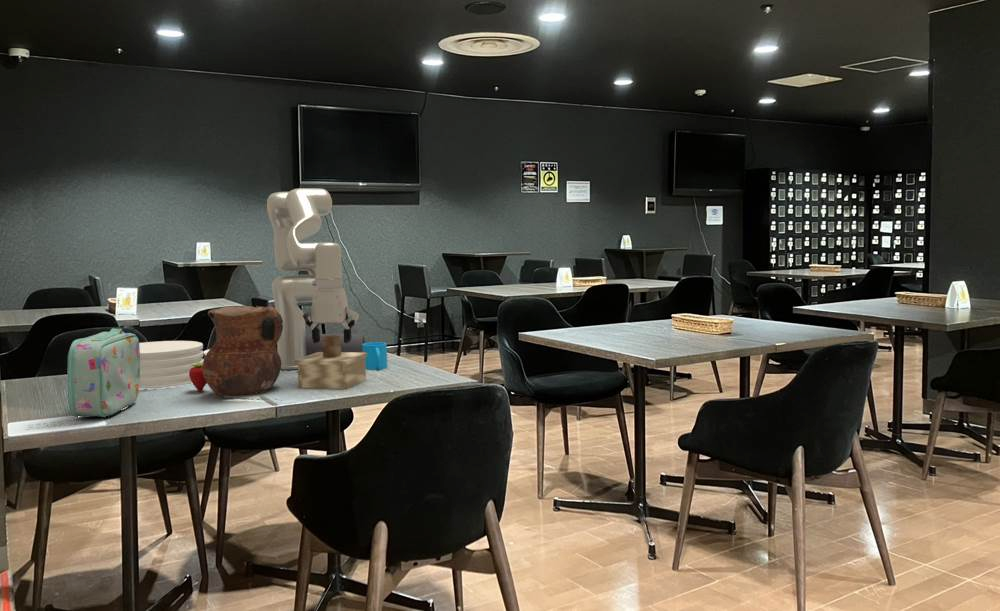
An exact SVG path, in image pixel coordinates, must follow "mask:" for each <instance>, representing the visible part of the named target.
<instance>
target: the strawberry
mask: <svg viewBox="0 0 1000 611" xmlns="http://www.w3.org/2000/svg"><path fill="white" fill-rule="evenodd" d="M201 359H203V357H201ZM201 359H200V360H201ZM191 366H194V367H193V368H191V369H190V371H189V376H190V379H191V381H192V383H193V384H192V385H193V386H194V387H195V389H196V390H197V391H198V392H199V391H201V392H203V389H204V388H205V386H207V385H208V384H207V382H206V380H205V378H204V376H203V372H202V366H203V364H199V363H197V364H194V365H191Z"/></svg>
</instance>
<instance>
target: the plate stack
mask: <svg viewBox="0 0 1000 611" xmlns="http://www.w3.org/2000/svg"><path fill="white" fill-rule="evenodd" d="M139 347H140V379H139V388H162V387H170V386H178V385H185V384H191V383H192V381H191V379H190V376H189V371H190V369H191V368H193V367H194V366H191V365H194V364H197V363H199V364H203V361H204V359H205V358H203V357H204V350H203V349H204V344H203V343H202V342H199V341H195V340H194V341H193V340H162V341H146V342H139ZM201 358H202V359H201ZM200 359H201V360H200Z"/></svg>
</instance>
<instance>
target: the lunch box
mask: <svg viewBox="0 0 1000 611" xmlns="http://www.w3.org/2000/svg"><path fill="white" fill-rule="evenodd" d="M139 343H140V340H139V338H138V336H137V335H136V334H134V333H132V332H125V331H123V329H122V328H113V327H112V328H111V329H110V331H102V332H99V333H97V334H93V335H90V336H87V337H83V338H78V339H75V340H73V341H72V343H71V345H70V347H69V350H68V354H67V371H66V372H67V403H68V408H69V412H70V413H71V415H72V416H74V417H75V418H79V417H78V416H98V418H107V417H106V416H108V417H110V416H109V415H111V416H112V415H114V414H116V413H118V411H119V412H121V411H122V410H121V409H123V408H125V407H127V406H129V405H130V406H132V405H134V404H135V403H136V402H137V398H138V395H139V379H140V347H139ZM135 401H136V402H135ZM134 402H135V403H134ZM133 403H134V404H133ZM131 404H132V405H131ZM130 406H129V407H130ZM127 408H128V407H127ZM120 410H121V411H120ZM100 416H101V417H100Z"/></svg>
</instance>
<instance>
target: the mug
mask: <svg viewBox="0 0 1000 611" xmlns="http://www.w3.org/2000/svg"><path fill="white" fill-rule="evenodd" d="M362 347H363V353H367V357H365V365H366V369H367V371H368V370H369V371H371V370H373V371H377V370H385V369H387V368H388V352H387V351H388V350H387V349H388V346H387V343H386V342H377V341H376V342H375V341H374V342H365V344H362Z"/></svg>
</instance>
